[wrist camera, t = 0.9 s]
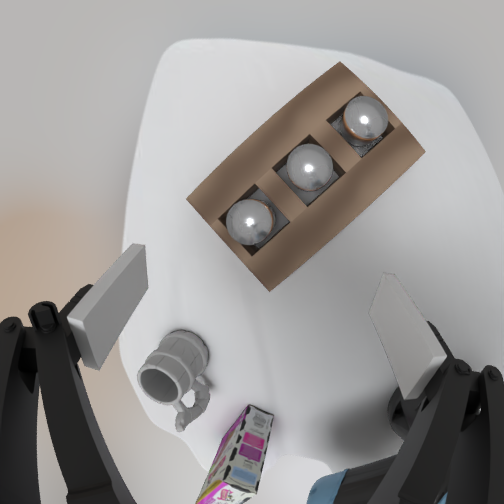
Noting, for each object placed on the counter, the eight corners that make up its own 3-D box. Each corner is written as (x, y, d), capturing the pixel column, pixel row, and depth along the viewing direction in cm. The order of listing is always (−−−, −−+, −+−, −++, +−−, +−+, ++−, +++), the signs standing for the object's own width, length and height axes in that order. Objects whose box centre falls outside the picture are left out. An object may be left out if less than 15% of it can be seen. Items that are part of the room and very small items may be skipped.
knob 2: (336, 173, 30) (343, 168, 25) (307, 200, 31) (308, 199, 26) (309, 144, 30) (310, 134, 25) (280, 170, 31) (276, 164, 26)
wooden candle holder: (410, 157, 31) (425, 151, 26) (273, 279, 36) (269, 291, 32) (335, 78, 30) (339, 61, 26) (200, 199, 36) (185, 198, 31)
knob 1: (284, 220, 32) (281, 224, 27) (255, 246, 33) (247, 254, 28) (257, 191, 32) (249, 189, 27) (228, 218, 33) (216, 220, 28)
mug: (192, 320, 39) (154, 362, 28) (234, 383, 40) (212, 436, 29) (155, 337, 41) (113, 376, 30) (195, 395, 42) (167, 443, 30)
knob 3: (384, 131, 28) (397, 120, 23) (358, 154, 29) (368, 146, 24) (357, 103, 28) (365, 87, 23) (331, 125, 29) (336, 112, 24)
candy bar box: (247, 402, 41) (221, 480, 25) (274, 414, 40) (259, 494, 24) (220, 437, 43) (193, 505, 27) (245, 448, 43) (224, 517, 27)
